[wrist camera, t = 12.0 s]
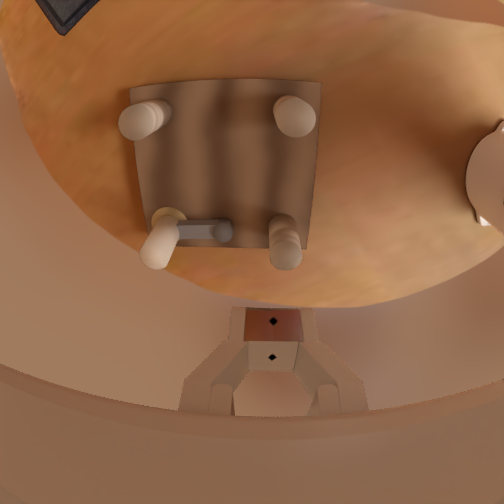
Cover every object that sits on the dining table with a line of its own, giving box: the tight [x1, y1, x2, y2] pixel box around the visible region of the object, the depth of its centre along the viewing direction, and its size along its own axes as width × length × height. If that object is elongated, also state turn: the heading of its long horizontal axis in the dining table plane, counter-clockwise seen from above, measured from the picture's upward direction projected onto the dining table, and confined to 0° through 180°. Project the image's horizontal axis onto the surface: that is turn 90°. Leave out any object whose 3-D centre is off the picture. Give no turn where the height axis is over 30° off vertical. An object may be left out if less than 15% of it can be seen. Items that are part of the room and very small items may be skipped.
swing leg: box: [139, 216, 234, 270], centre depth 36 cm, size 10×4×7 cm, turn 91°
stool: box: [118, 79, 322, 270], centre depth 33 cm, size 22×22×10 cm
